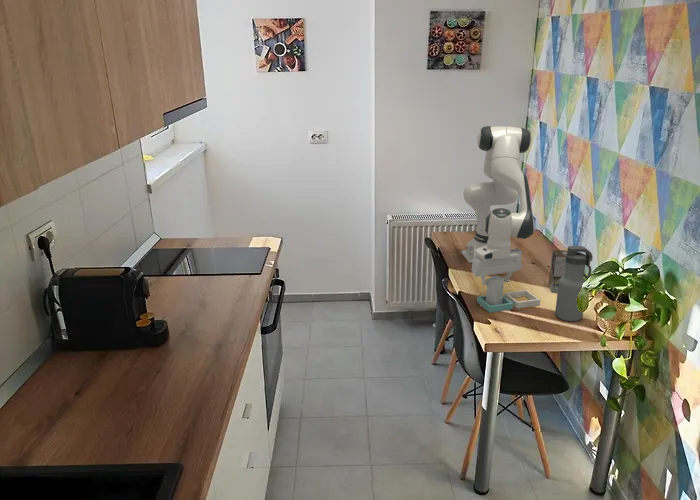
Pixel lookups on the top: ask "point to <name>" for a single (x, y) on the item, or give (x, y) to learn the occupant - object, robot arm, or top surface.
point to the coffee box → (557, 268)
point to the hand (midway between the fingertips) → (495, 283)
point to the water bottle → (572, 283)
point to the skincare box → (495, 290)
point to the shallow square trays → (510, 301)
